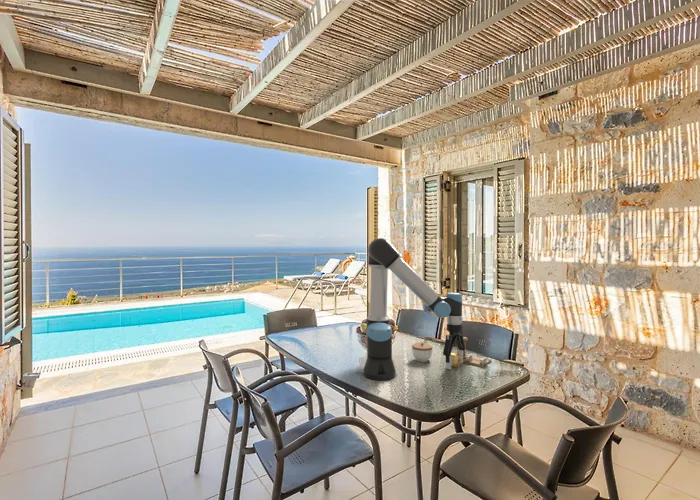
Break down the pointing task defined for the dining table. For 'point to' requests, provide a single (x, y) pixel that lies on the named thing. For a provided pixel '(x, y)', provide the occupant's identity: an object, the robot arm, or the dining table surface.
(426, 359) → the lidded jar
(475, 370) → the dining table surface
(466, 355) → the bobbin
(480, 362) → the board
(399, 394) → the dining table surface
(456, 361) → the tab
